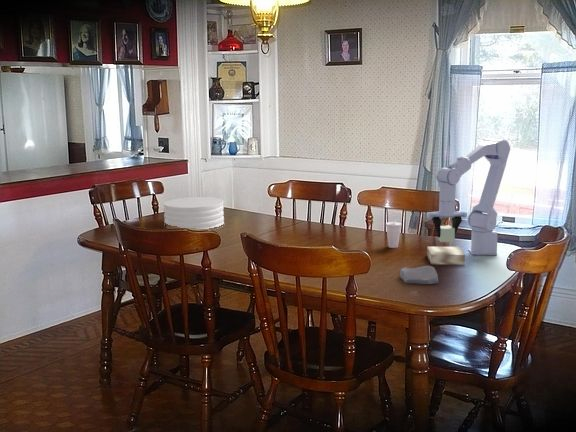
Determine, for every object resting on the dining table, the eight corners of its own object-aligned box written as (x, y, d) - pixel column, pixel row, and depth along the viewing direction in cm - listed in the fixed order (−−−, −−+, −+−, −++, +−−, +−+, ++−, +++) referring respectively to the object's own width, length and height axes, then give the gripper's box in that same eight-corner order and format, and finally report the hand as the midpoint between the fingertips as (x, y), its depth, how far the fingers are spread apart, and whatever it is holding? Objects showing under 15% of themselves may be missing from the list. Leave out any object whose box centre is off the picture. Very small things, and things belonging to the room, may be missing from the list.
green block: (450, 238, 244) (451, 225, 243) (454, 241, 239) (454, 228, 238) (437, 239, 244) (437, 226, 243) (440, 242, 239) (441, 228, 238)
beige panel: (459, 256, 248) (459, 246, 248) (464, 265, 237) (464, 254, 236) (427, 256, 250) (427, 246, 249) (430, 265, 238) (431, 254, 237)
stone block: (440, 289, 215) (433, 274, 225) (441, 276, 213) (433, 262, 223) (404, 291, 215) (398, 277, 224) (405, 278, 213) (399, 264, 222)
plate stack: (171, 219, 324) (170, 197, 322) (227, 219, 323) (226, 196, 320) (158, 232, 297) (157, 207, 294) (219, 232, 295) (218, 207, 293)
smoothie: (389, 249, 259) (389, 215, 257) (382, 245, 265) (383, 212, 263) (403, 248, 261) (404, 213, 258) (397, 244, 267) (397, 210, 264)
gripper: (463, 198, 243) (462, 233, 245) (425, 199, 242) (424, 234, 245) (469, 201, 236) (467, 238, 238) (429, 202, 235) (428, 239, 238)
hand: (446, 236), depth 241 cm, fingers closed on green block, 5 cm apart
